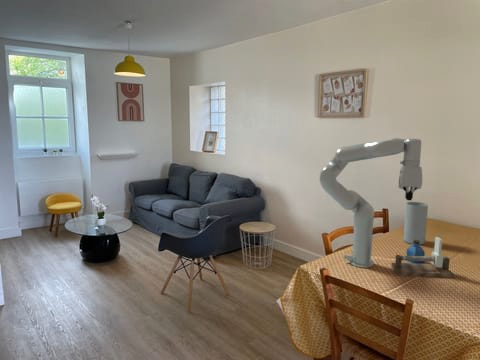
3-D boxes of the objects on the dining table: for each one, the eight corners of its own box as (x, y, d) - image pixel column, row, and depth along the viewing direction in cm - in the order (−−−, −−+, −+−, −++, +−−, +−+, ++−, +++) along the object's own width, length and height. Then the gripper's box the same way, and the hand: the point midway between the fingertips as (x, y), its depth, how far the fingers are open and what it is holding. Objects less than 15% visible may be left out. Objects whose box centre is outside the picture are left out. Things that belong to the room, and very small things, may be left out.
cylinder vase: (428, 245, 223) (431, 206, 219) (408, 244, 223) (411, 206, 219) (419, 238, 235) (422, 201, 231) (400, 238, 236) (402, 201, 232)
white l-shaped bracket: (435, 267, 178) (438, 240, 176) (430, 262, 184) (433, 236, 182) (442, 267, 178) (444, 240, 176) (436, 262, 184) (439, 236, 182)
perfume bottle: (414, 264, 192) (416, 243, 191) (406, 260, 198) (407, 239, 196) (423, 263, 194) (425, 242, 192) (415, 259, 200) (417, 238, 198)
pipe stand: (398, 275, 178) (399, 259, 177) (391, 266, 190) (392, 251, 189) (453, 277, 175) (455, 261, 174) (442, 268, 187) (443, 253, 186)
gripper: (398, 164, 174) (395, 201, 177) (430, 164, 172) (427, 201, 175) (393, 162, 181) (391, 198, 184) (424, 163, 180) (421, 198, 183)
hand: (408, 199), depth 180 cm, fingers closed
